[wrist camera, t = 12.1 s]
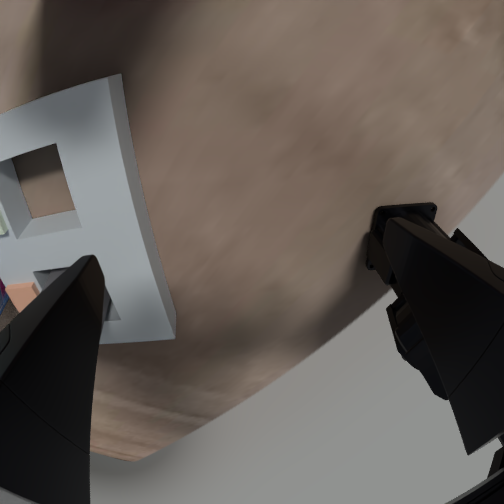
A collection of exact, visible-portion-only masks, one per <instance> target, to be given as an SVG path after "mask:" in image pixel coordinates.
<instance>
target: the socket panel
mask: <svg viewBox="0 0 504 504" xmlns="http://www.w3.org/2000/svg"><path fill="white" fill-rule="evenodd" d="M54 143H56V144H57V148H58V152H59V155H60V159H61V163H62V166H63V170H64V173H65V177H66V180H67V183H68V187H69V190H70V193H71V196H72V199H73V202H74V205H75V208H76V210H72V211H67V212H62V213H57V214H52V215H48V216H43V217H39V218H34V219H32V216H31V214H30V211H29V209H28V206H27V203H26V201H25V198H24V195H23V192H22V189H21V186H20V184H19V181H18V177H17V174H16V171H15V168H14V165H13V161H12V157H14V156H17V155H20V154H23V153H26V152H29V151H32V150H35V149H38V148H41V147H44V146H48V145H51V144H54ZM91 254H93V255H95V256H96V257H97V259H98V262H99V264H100V267H101V269H102V272H103V274H104V277H105V286H106V288H107V290H108V293H109V295H110V301H109V305H108V309H107V313H106V317H105V321H104V325H103V329H102V334H101V338H100V343H99V344H111V343H129V342H144V341H157V340H169V339H175V336H176V311H175V308H174V305H173V301H172V298H171V295H170V292H169V288H168V285H167V282H166V278H165V275H164V271H163V268H162V264H161V261H160V257H159V254H158V250H157V246H156V242H155V239H154V235H153V231H152V227H151V223H150V219H149V215H148V211H147V207H146V203H145V198H144V194H143V190H142V185H141V181H140V176H139V172H138V167H137V162H136V157H135V152H134V147H133V142H132V137H131V131H130V126H129V120H128V114H127V108H126V102H125V96H124V89H123V82H122V75H121V73H120V74H116V75H112V76H108V77H104V78H101V79H97V80H93V81H90V82H86V83H83V84H79V85H76V86H73V87H70V88H67V89H64V90H61V91H58V92H55V93H52V94H49V95H46V96H44V97H41V98H38V99H36V100H33V101H30V102H28V103H25V104H23V105H20V106H18V107H16V108H13V109H11V110H9V111H6V112H4V113H2V114H0V278H1V280H2V282H3V284H4V285H5V287H6V288H5V291H6V292H7V294H8V296H9V297H10V299H11V301H12V302H13V304H14V305H15V307H16V308H17V310H18V312H19V313H20V312H21V311H22V310H23V309H24V308H25V307H26V306H27V305H28V304H29V303H30V302H31V301H32V300H33V299H35V298H36V297H37V296H38V295H39V294H40V293H41V291H42V289H43V287H44V284H45V282H46V280H47V278H48V276H49V274H50V272H51V270H52V269H56V268H63V267H70V266H71V265H72V264H73V263H75V262H76V261H77V260H78V259H79V258H80V257H82V256H84V255H91Z"/></svg>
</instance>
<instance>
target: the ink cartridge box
mask: <svg viewBox="0 0 504 504" xmlns="http://www.w3.org/2000/svg"><path fill="white" fill-rule="evenodd" d="M5 288H6V287H5V285H4V284H3V282H2V280H1V278H0V315H1V313H2V311H3V309H4V307H5V305H6V303H7V301H8V299H9V298H10V297H9V296H8V294H7V292H6V291H5Z"/></svg>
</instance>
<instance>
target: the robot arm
mask: <svg viewBox="0 0 504 504" xmlns="http://www.w3.org/2000/svg"><path fill="white" fill-rule="evenodd" d="M431 208H432V209H431ZM382 211H383V213H382V214H380V213H381V212H382ZM436 211H437V206H436V205H435V204H434V203H432V202H430V203H415V204H401V205H388V206H380V207H378V208H377V209H376V212H375V218H374V223H373V229H372V232H371V234H370V239H369V245H368V250H367V260H366V267H367V269H368V270H375V269H376V271H377V272H378V274H379V275H380V277H381V278H382V280H383V282H384V283H385V284H386V285H391V287H392V289H393V290H394V292H395V293H396V295H397V297H398V298H397V299H396V300H395V301H394V303H393V304H390V305H389V306H388V307H387V308H386V311H387V314H388V318H389V322H390V325H391V328H392V332H393V335H394V339H395V343H396V347H397V350H398V352H399V353H400V354H401V356H402V358H403V359H404V360H405V361H407V362H408V363H409V364H410V365H411V366H413V367H414V368H416V369H417V370H419V371H420V372H421V373H422V375H423V376H424V378H425V380H426V381H427V383H428V385H429V386H430V388H431V390H432V391H433V393H434V394H435V395H437V396H439V397H440V398H442V399H444V400H449V401H450V404H451V407H452V410H453V412H454V415H455V419H456V421H457V424H458V427H459V431H460V434H461V437H462V440H463V443H464V446H465V450H466V452H467V455H470V454H472V453H473V452H475V451H477V450H479V449H480V448H482V447H483V446H485V445H487V444H488V443H490V442H491V441H493V440H494V439H496V438H497V437H498V439H499V440H500V442H501V444H502V446H503V447H502V448H500V449H499V450H497V451H496V452H495V454H494V458H493V461H492V465H491V468H490V471H489V474H488V477H487V479H486V480H484V481H483V482H481V483H480V484H478V485H476V486H475V487H473V488H472V489H470V490H468V491H467V492H465V493H463V494H461V495H460V496H458V497H456V498H455V499H453V500H451V501H449V502H448V503H446V504H504V268H503V267H501V266H499V265H497V264H495V263H493V262H491V261H489V260H488V259H487V258H486V257H485V256H484V254H482V252H481V251H480V250H479V249H478V248H477V247H476V246H475V245H474V244H473V243H472V242H471V241H470V240H469V239H468V238H467V237H466V236H465V235H464V234H463V233H462V232H461V231H460V230H459V229H458V228H457V229H456V230H455V231H454V235H453V236H452V237H451V238H450V237H449V236H448V235H447V234H446V233H445V232H444V231H443V230H442V229H441V228H440V227H439V226H438V225H437V224H436V223H435V222H434V219H435V215H436ZM371 264H372V265H371ZM104 290H105V277H104V274H103V272H102V269H101V267H100V264H99V262H98V259H97V257H96V256H95V255H93V254H91V255H84V256H82V257H80V258H79V259H78V260H77V261H76V262H75V263H73V264H72V265H71V266H70V267H69V268H68V269H66V270H65V271H64V272H63V273H62V274H61V275H60V276H59V277H57V278H56V279H55V280H54V281H53V282H52V283H51V284H50V285H49V286H47V287H46V288H45V289H44V290H43V291H42V292H41V293H40V294H39V295H38V296H37V297H36V298H35V299H33V300H32V301H31V302H30V303H29V304H28V305H27V306H26V307H25V308H24V309H23V310H22V311H21V312H20V313H19V314H18V315H17V316H16V317H15V318H14V319H13V320H12V321H11V322H10V324H8V325H7V326H6V327H5V328H4V329H3V330H2V331H1V332H0V504H90V455H89V454H90V431H91V414H92V401H93V390H94V381H95V372H96V364H97V356H98V349H99V342H100V335H101V328H102V318H103V303H104Z"/></svg>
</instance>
